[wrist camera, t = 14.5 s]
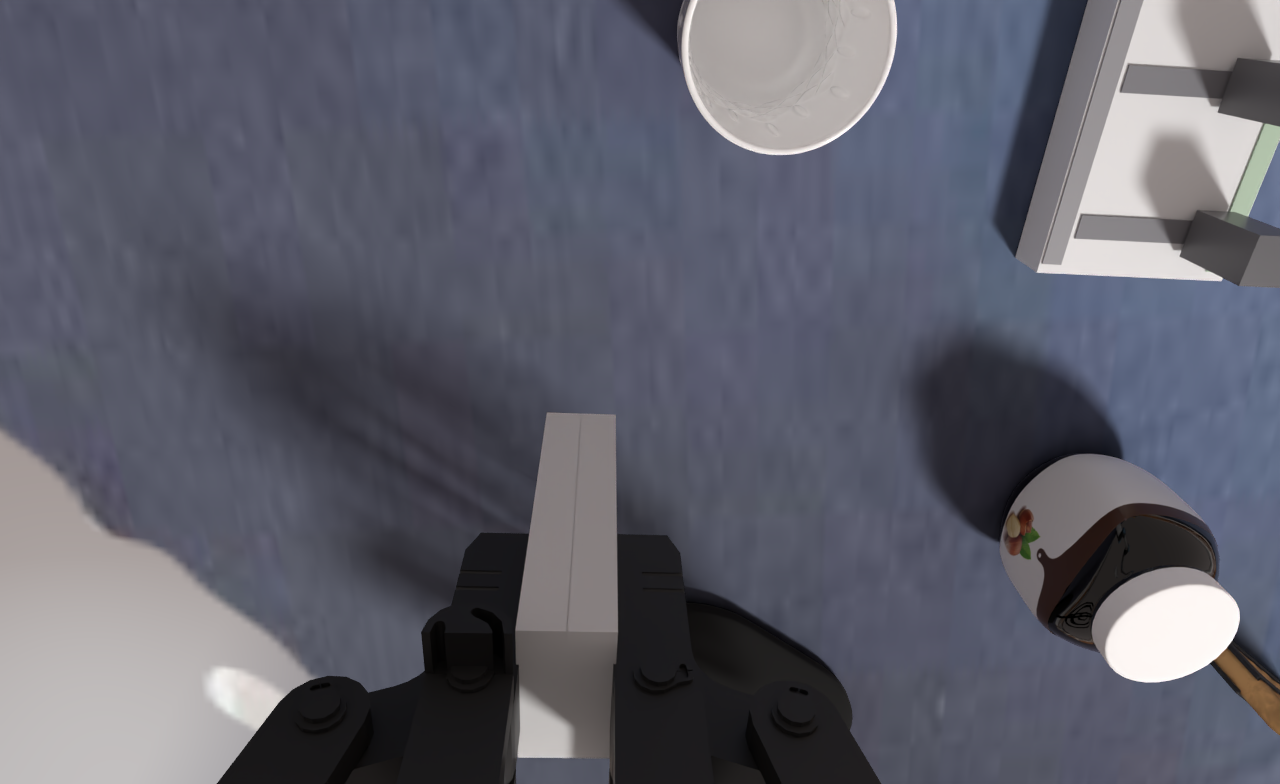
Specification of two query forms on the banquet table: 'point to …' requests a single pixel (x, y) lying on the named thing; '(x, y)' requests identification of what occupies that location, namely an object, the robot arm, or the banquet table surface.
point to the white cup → (785, 67)
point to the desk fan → (754, 656)
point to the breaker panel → (1149, 137)
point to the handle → (1234, 248)
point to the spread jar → (1118, 566)
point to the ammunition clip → (1251, 683)
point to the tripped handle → (1253, 91)
